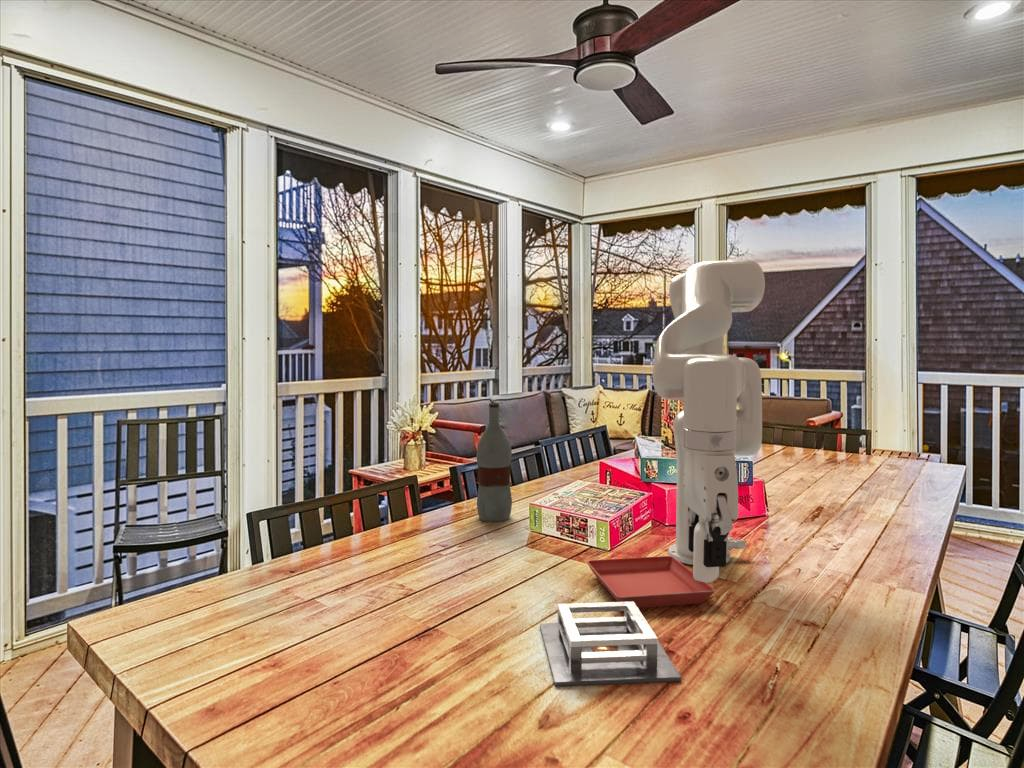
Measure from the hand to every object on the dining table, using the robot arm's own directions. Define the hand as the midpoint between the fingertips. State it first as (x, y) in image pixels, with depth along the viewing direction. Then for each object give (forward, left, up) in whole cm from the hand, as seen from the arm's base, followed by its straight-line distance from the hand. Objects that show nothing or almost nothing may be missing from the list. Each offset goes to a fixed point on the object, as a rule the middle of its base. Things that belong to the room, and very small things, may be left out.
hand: (706, 557), depth 92 cm
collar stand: (+16, +3, -13) cm, 21 cm away
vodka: (+29, -68, -13) cm, 75 cm away
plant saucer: (+3, -19, -13) cm, 24 cm away
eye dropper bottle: (0, 0, -3) cm, 3 cm away
